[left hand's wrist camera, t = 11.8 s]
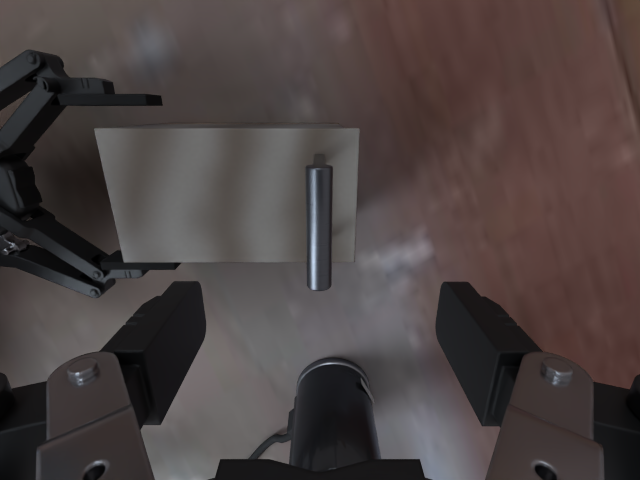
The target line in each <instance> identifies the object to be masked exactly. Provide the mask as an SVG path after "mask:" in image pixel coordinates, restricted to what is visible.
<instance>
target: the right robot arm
mask: <svg viewBox="0 0 640 480" xmlns="http://www.w3.org/2000/svg"><path fill="white" fill-rule="evenodd" d="M63 68H64V64H63V61H62V59H61V58H60V57H58V56H57V55H52V54H48V53H43V52H38V51H34V50H26V51H24V52H23V53H21V54H20V55H18V56H17V57H15V58H14V59H12V60H11V61H9V62H8V63H6V64H5V65H3V66H2V67H1V68H0V110H2V109H3V108H5V107H6V106H8V105H10V104H11V103H13V102H14V101H16V100H17V99H19V98H20V97H22V96H24V95H25V94H27V93H28V92H30V91H31V90H32V91H31V92H30V93H29V95H28V96H27V97H26V98H25V99H24V101H23V102H22V103H21V104H20V106H19V107H18V108H17V109H16V111H15V112H14V113H13V114H12V116H11V117H10V118H9V119H8V121H7V122H6V123H5V124H4V126H3V127H2V128H1V129H0V266H4V267H14V268H18V269H20V270H23V271H26V272H28V273H31V274H33V275H36V276H38V277H41V278H44V279H46V280H49V281H51V282H54V283H56V284H59V285H62V286H64V287H67V288H69V289H72V290H74V291H77V292H80V293H82V294H85V295H87V296H90V297H92V298H98V297H100V296H101V295H102V294H104V293H105V292H106V291H107V290H108V289H110V288H111V287H112V286H113V285H114V284H115V282H116V280H115V278H139V277H142V276H143V275H144V274H146V273H147V272H148V271H149V270H175V269H176V268H177V267H178V266H179V265H180V264H181V263H182V262H124V261H123V256H122V252H121V250H117V251H116V252H114V253H113V254H111V255H110V256H109V255H108V254H106V253H105V252H103V251H102V250H100V249H99V248H97V247H96V246H94V245H93V244H91V243H89V242H88V241H86V240H85V239H83V238H82V237H80V236H79V235H77V234H76V233H74V232H73V231H71V230H70V229H68V228H67V227H65V226H63V225H62V224H60V223H59V222H57V221H56V220H55V216H54V215H53V214H51V213H50V212H48V211H47V210H45V209H44V208H42V207H41V206H39V203H40V202H42V198H41V195H40V193H39V191H38V189H37V187H36V186H35V175H34V172H33V168H32V167H28V165H27V164H26V163H25V160H26V158H27V157H28V156H29V155H30V154H31V152H32V151H33V150H34V149H35V147H34V144H35V143H36V142H37V141H38V139H39V138H40V137H41V136H42V135H43V133H44V132H45V131H46V130H47V129H48V128H49V126H50V125H51V124H52V123H53V122H54V120H55V119H56V118H57V117H58V116H59V115H60V113H61V112H62V111H63V110H64V109H65V107H66V106H67V105H70V106H163V104H162V98H161V96H159V95H150V94H115V91H114V86H113V82H111V81H108V80H106V79H99V78H70V77H69V76H68V75H67V74H66V73H65V71H64V70H63ZM29 217H31V218H33V219H31V220H29V221H26V220H27V219H28V218H29ZM12 233H13V234H14V235H16V236H18V237H20V238H28V239H30V240H32V241H33V242H35V243H37V244H38V245H40V246H41V247H43V248H41V247H38V246H34V245H30V243H29V241H27V240H23V241H22V240H19V239H17V238H15V237H14V235H13V234H12ZM44 248H45V249H44Z"/></svg>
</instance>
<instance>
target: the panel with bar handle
mask: <svg viewBox="0 0 640 480" xmlns="http://www.w3.org/2000/svg"><path fill="white" fill-rule="evenodd" d="M94 131H95V136H96V140H97V145H98V149H99V153H100V158H101V162H102V167H103V171H104V176H105V180H106V185H107V189H108V194H109V198H110V203H111V207H112V212H113V216H114V221H115V225H116V230H117V234H118V238H119V243H120V247H121V252H122V256H123V261H124V262H307V286H308V288H309V289H311V290H314V291H324V290H327V289H329V288H330V287H331V275H332V262H355V236H356V211H357V186H358V160H359V135H360V129H359V128H95V129H94Z"/></svg>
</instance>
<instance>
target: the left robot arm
mask: <svg viewBox="0 0 640 480" xmlns="http://www.w3.org/2000/svg"><path fill="white" fill-rule="evenodd" d="M205 333H206V318H205V311H204V304H203V297H202V290H201V285H200V283H199V282H198V281H174V282H173V283H172V284H171V285H170V286H169V287H168V289H167V290H166V291H165V292H164V293H163V294H162V296H156V297H154V298H153V299H151V300H149V301H148V302H146V303H144V304H143V305H142V306H141V307H140V308H139V309H138V310H137V311H136V312H135V313H134V314H133V317H131V318H130V319H129V320H128V321H127V322H126V325H123V326H122V327H121V328H120V330H119V331H118V332H117V333H116V334H115V335H114V336H113V337H112V338H111V339H110V340H109V341H108V343H107V344H106V345H105V346H104V347H103V348H102V349H101V350H100V351H99V352H92V353H87V354H84V355H81V356H78V357H76V358H74V359H71V360H69V361H68V362H66V363H64V364H63V365H61V366H60V367H58V368H57V369H56V370H55V371H54V372H53V373H52V374H51V375H50V377H49V378H48V380H47V381H46V382H41V383H36V384H31V385H27V386H22V387H17V388H13V389H11V386H10V384H9V381H8V379H7V377H6V375H5V374H3V373H0V480H155V479H154V475H153V472H152V469H151V465H150V462H149V459H148V455H147V452H146V449H145V445H144V442H143V439H142V435H141V432H140V430H141V428H142V426H143V425H161V423H162V421H163V419H164V417H165V415H166V413H167V411H168V409H169V407H170V405H171V403H172V401H173V399H174V398H175V396H176V394H177V392H178V390H179V388H180V386H181V384H182V382H183V380H184V378H185V376H186V374H187V372H188V370H189V368H190V366H191V364H192V362H193V360H194V358H195V356H196V354H197V352H198V350H199V349H200V347H201V345H202V343H203V341H204V338H205ZM436 335H437V339H438V342H439V344H440V346H441V348H442V350H443V351H444V353H445V355H446V357H447V359H448V361H449V363H450V365H451V367H452V369H453V371H454V373H455V375H456V377H457V379H458V381H459V382H460V384H461V386H462V388H463V390H464V392H465V394H466V396H467V398H468V400H469V402H470V404H471V406H472V408H473V410H474V411H475V413H476V415H477V417H478V419H479V421H480V423H481V425H482V426H500V428H501V429H500V432H499V435H498V439H497V442H496V445H495V449H494V452H493V455H492V459H491V462H490V465H489V469H488V472H487V475H486V479H485V480H640V374H639V375H637V376H636V377H635V379H634V381H633V384H632V386H631V388H630V389H625V388H620V387H616V386H611V385H606V384H601V383H597V382H593V380H592V378H591V377H590V375H589V374H588V373H587V372H586V371H585V370H584V369H583V368H582V367H580V366H579V365H577V364H576V363H574V362H572V361H571V360H569V359H566V358H564V357H562V356H559V355H556V354H553V353H548V352H543V351H542V350H541V349H540V348H539V347H538V346H537V345H536V344H535V343H534V342H533V340H532V339H531V338H530V337H529V336H528V335H527V334H526V333H525V332H524V331H523V330H522V329H521V328H520V327H519V326H517V323H516V322H515V321H514V320H513V319H512V318H511V317H509V315H508V314H507V313H506V312H505V310H504V309H503V308H502V307H501V306H500V305H498V304H497V303H495V302H493V301H492V300H490V299H488V298H487V297H481V296H480V295H479V294H478V293H477V291H476V290H475V289H474V288H473V287H472V286H471V285H470V283H468V282H443V283H442V285H441V289H440V296H439V303H438V310H437V317H436ZM371 400H372V401H373V403H374V398H373V396H372V395H371V393H370V388H369V382H368V379H367V376H366V374H365V373H364V371H363V370H362V369H361V368H360V367H359V366H357V365H356V364H354V363H352V362H350V361H348V360H344V359H339V358H328V359H322V360H319V361H316V362H314V363H312V364H311V365H309V366H308V367H307V368H305V369H304V370H303V372H302V373H301V375H300V376H299V379H298V382H297V396H296V397H295V402H294V409H292V410H291V411H290V412H289V419H288V429H287V434H284V435H278V434H276V435H273V436H272V437H270V438H268V439H267V440H266V441H265V442H263V443H262V444H261V445H260V446H259V447H258V448H257V450H256V451H255V452H254V453H253V454H252V455H251V457H250V458H249V459H220V462H219V466H218V469H217V473H216V476H215V478H212V479H208V480H432V479H428V478H425V476H424V473H423V469H422V466H421V462H420V459H381V455H380V450H379V444H378V438H377V433H376V427H375V421H374V416H373V410H372V404H371ZM374 404H375V403H374ZM289 440H291V447H290V459H289V464H285V463H281V462H278V461H274V460H270V459H257V458H258V457H259V456H260V455H261V454H262V453H263V452H264V451H265V450H266V449H267V448H268V447H269V446H270V445H272V444H273V443H275V442H279V443H284V442H287V441H289Z"/></svg>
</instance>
